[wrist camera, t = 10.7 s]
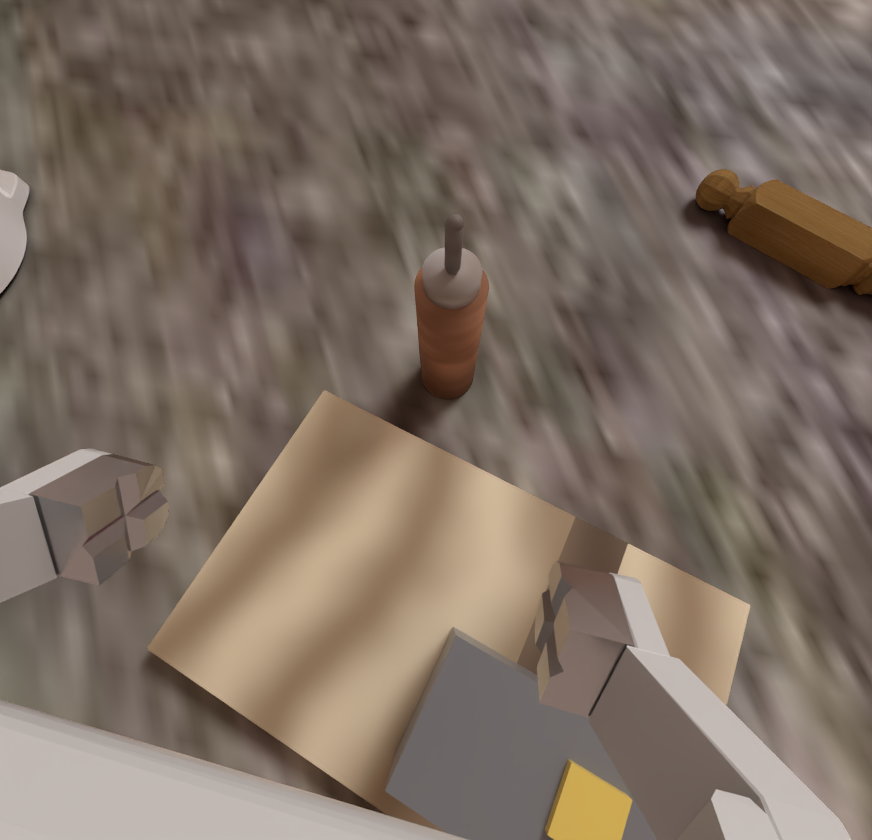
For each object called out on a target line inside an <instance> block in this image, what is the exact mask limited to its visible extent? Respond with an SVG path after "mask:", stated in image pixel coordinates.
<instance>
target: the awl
mask: <svg viewBox="0 0 872 840" xmlns="http://www.w3.org/2000/svg"><path fill="white" fill-rule="evenodd" d="M463 229H464V222H463V219H462V217H461V216H459V215H458V214H452V215H450V216H449V217H448V218H447V219H446V223H445V247H444V248H441V249H438V250H436V251H434V252H433V253H431V254H430V255H429V256H428V257H427V258H426V260H425V262H424V264H423V267H422V268H421V269H420V271H419V272H418V274H417V276H416V279H415V285H414V288H415V301H416V313H417V326H418V339H419V351H420V364H421V377H422V382H423V385H424V387H425V388H426V390H427V391H428V392H429V393H431V394H432V395H434V396H435V397H438V398H441V399H453V398H457V397H459V396H461V395H463V394H464V393H466V392H467V391H468V389H469V388H470V386H471V384H472V381H473V376H474V370H475V365H476V359H477V353H478V348H479V342H480V336H481V331H482V325H483V319H484V314H485V308H486V302H487V297H488V291H489V283H488V279H487V276H486V274H485V272H484V271H483V270H482V266H481V263H480V261H479V259H478V258H477V257H476V256H475V255H474V254H473V253H472V252H470V251H468V250H466V249H463V248H462V243H463Z"/></svg>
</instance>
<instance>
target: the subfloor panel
mask: <svg viewBox="0 0 872 840" xmlns="http://www.w3.org/2000/svg"><path fill="white" fill-rule="evenodd" d="M555 561H559V562H563V563H567V564H572V565H576V566H580V567H585V568H589V569H593V570H597V571H602V572H606V573H614V574H619V575H623V576H628V577H633V578H637V579H638V580H639V581H640V582H641V584H642V586H643V589H644V591H645V594H646V596H647V599H648V602H649V604H650V607H651V609H652V612H653V614H654V617H655V619H656V622H657V624H658V627H659V629H660V632H661V634H662V637H663V639H664V642H665V644H666V647H667V649H668V652H669V654H670V657H674V658H678V659H680V660H681V661H682V662H683V663H684V664H685V665H686V666H687V667H688V668H689V669H690V670H691V671H692V672H693V673H694V674H695V675H696V676H697V677H698V678H699V679H700V680H701V681H702V682H703V683H704V684H705V685H706V686H707V687H708V688H709V689H710V690H711V691H712V692H713V693H714V694H715V695H716V696H717V697H718V698H719V699H720V700H721V701H722V702H723V703H724V704H725V705H726V706H727V701H728V697H729V693H730V689H731V685H732V680H733V676H734V672H735V668H736V664H737V659H738V655H739V651H740V647H741V643H742V638H743V634H744V630H745V626H746V622H747V618H748V613H749V609H750V605H749V604H747V603H745V602H743V601H741V600H739V599H737V598H735V597H733V596H731V595H729V594H727V593H725V592H723V591H721V590H719V589H717V588H715V587H713V586H711V585H709V584H707V583H705V582H703V581H701V580H699V579H697V578H695V577H693V576H691V575H689V574H687V573H685V572H683V571H681V570H679V569H677V568H675V567H674V566H672V565H670V564H668V563H666V562H664V561H662V560H660V559H658V558H656V557H654V556H652V555H650V554H648V553H646V552H644V551H642V550H640V549H638V548H636V547H634V546H632V545H630V544H628V543H626V542H624V541H622V540H620V539H618V538H616V537H614V536H612V535H610V534H608V533H606V532H604V531H602V530H600V529H598V528H596V527H594V526H592V525H590V524H588V523H586V522H584V521H582V520H580V519H578V518H576V517H574V516H573V515H571V514H569V513H567V512H565V511H563V510H561V509H559V508H557V507H555V506H553V505H551V504H549V503H547V502H545V501H543V500H541V499H539V498H537V497H535V496H533V495H531V494H529V493H527V492H525V491H523V490H521V489H519V488H517V487H515V486H513V485H511V484H509V483H507V482H505V481H503V480H501V479H499V478H497V477H495V476H493V475H491V474H489V473H487V472H485V471H483V470H481V469H479V468H477V467H475V466H474V465H472V464H470V463H468V462H466V461H464V460H462V459H460V458H458V457H456V456H454V455H452V454H450V453H448V452H446V451H444V450H442V449H440V448H438V447H436V446H434V445H432V444H430V443H428V442H426V441H424V440H422V439H420V438H418V437H416V436H414V435H412V434H410V433H408V432H406V431H404V430H402V429H400V428H398V427H396V426H394V425H392V424H390V423H388V422H386V421H384V420H382V419H380V418H378V417H376V416H375V415H373V414H371V413H369V412H367V411H365V410H363V409H361V408H359V407H357V406H355V405H353V404H351V403H349V402H347V401H345V400H343V399H341V398H339V397H337V396H335V395H333V394H331V393H329V392H327V391H325V390H324V391H323V393H322V394H321V396H320V397H319V399H318V400H317V401H316V403H315V404H314V406H313V407H312V409H311V410H310V412H309V413H308V415H307V416H306V417H305V419H304V420H303V422H302V423H301V425H300V426H299V428H298V429H297V431H296V432H295V433H294V435H293V436H292V438H291V439H290V441H289V442H288V444H287V445H286V447H285V448H284V449H283V451H282V452H281V454H280V455H279V457H278V458H277V460H276V461H275V463H274V464H273V465H272V467H271V468H270V470H269V471H268V473H267V474H266V476H265V477H264V479H263V480H262V482H261V483H260V484H259V486H258V487H257V489H256V490H255V492H254V493H253V495H252V496H251V498H250V499H249V500H248V502H247V503H246V505H245V506H244V508H243V509H242V511H241V512H240V514H239V515H238V516H237V518H236V519H235V521H234V522H233V524H232V525H231V527H230V528H229V530H228V531H227V532H226V534H225V535H224V537H223V538H222V540H221V541H220V543H219V544H218V546H217V547H216V548H215V550H214V551H213V553H212V554H211V556H210V557H209V559H208V560H207V562H206V563H205V565H204V566H203V567H202V569H201V570H200V572H199V573H198V575H197V576H196V578H195V579H194V581H193V582H192V583H191V585H190V586H189V588H188V589H187V591H186V592H185V594H184V595H183V597H182V598H181V599H180V601H179V602H178V604H177V605H176V607H175V608H174V610H173V611H172V613H171V614H170V615H169V617H168V618H167V620H166V621H165V623H164V624H163V626H162V627H161V629H160V630H159V631H158V633H157V634H156V636H155V637H154V639H153V640H152V642H151V643H150V645H149V646H148V648H147V649H148V650H149V651H151V652H152V653H153V654H155V655H156V656H158V657H159V658H161V659H162V660H164V661H165V662H166V663H168V664H169V665H171V666H172V667H174V668H175V669H177V670H178V671H179V672H181V673H182V674H184V675H185V676H187V677H188V678H190V679H191V680H192V681H194V682H195V683H197V684H198V685H200V686H201V687H203V688H204V689H206V690H207V691H208V692H210V693H211V694H213V695H214V696H216V697H217V698H219V699H220V700H221V701H223V702H224V703H226V704H227V705H229V706H230V707H232V708H233V709H234V710H236V711H237V712H239V713H240V714H242V715H243V716H245V717H246V718H247V719H249V720H250V721H252V722H253V723H255V724H256V725H258V726H259V727H260V728H262V729H263V730H265V731H266V732H268V733H269V734H271V735H272V736H273V737H275V738H276V739H278V740H279V741H281V742H282V743H284V744H285V745H287V746H288V747H289V748H291V749H292V750H294V751H295V752H297V753H298V754H300V755H301V756H302V757H304V758H305V759H307V760H308V761H310V762H311V763H313V764H314V765H315V766H317V767H318V768H320V769H321V770H323V771H324V772H326V773H327V774H328V775H330V776H331V777H333V778H334V779H336V780H337V781H339V782H340V783H341V784H343V785H344V786H346V787H347V788H349V789H350V790H352V791H353V792H355V793H356V794H357V795H359V796H360V797H362V798H363V799H365V800H366V801H368V802H369V803H370V804H372V805H373V806H375V807H376V808H378V809H379V810H381V811H382V812H383V813H385V814H386V815H389V816H392V817H395V818H399V819H402V820H405V821H409V822H412V823H415V824H419V825H422V826H425V827H429V828H432V829H435V830H439V831H442V832H444V831H443V830H442V829H440V828H439V827H437V826H436V825H434V824H433V823H431V822H430V821H428V820H427V819H425V818H424V817H422V816H421V815H419V814H418V813H416V812H415V811H413V810H412V809H410V808H409V807H408V806H406V805H405V804H403V803H402V802H400V801H399V800H397V799H396V798H394V797H393V796H391V795H390V794H388V793H387V792H385V789H386V785H387V781H388V777H389V773H390V769H391V765H392V761H393V757H394V754H395V752H396V750H397V747H398V745H399V743H400V741H401V739H402V737H403V734H404V732H405V730H406V728H407V726H408V724H409V721H410V719H411V717H412V715H413V713H414V711H415V708H416V706H417V704H418V702H419V700H420V697H421V695H422V693H423V691H424V689H425V687H426V684H427V682H428V680H429V678H430V676H431V674H432V671H433V669H434V667H435V665H436V663H437V661H438V658H439V656H440V654H441V652H442V650H443V648H444V645H445V643H446V641H447V639H448V637H449V634H450V632H451V630H452V628H453V627H455V628H457V629H458V630H460V631H462V632H464V633H465V634H467V635H469V636H470V637H472V638H474V639H476V640H477V641H479V642H481V643H482V644H484V645H486V646H488V647H489V648H491V649H493V650H495V651H496V652H498V653H500V654H501V655H503V656H505V657H507V658H508V659H510V660H512V661H513V662H515V663H517V664H519V665H520V666H522V667H524V668H526V669H527V670H529V671H531V672H532V673H534V674H536V675H537V665H538V662H539V660H540V657H541V655H542V653H541V652H540V650H539V649H538V647H537V646H536V645H535V619H536V614H537V608H538V604H539V601H540V598H541V595H542V593H543V592H545V591H547V590H548V589H550V588H549V579H548V575H549V573H550V570H551V568H552V566H553V564H554V563H555ZM445 833H446V832H445Z"/></svg>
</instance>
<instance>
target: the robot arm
mask: <svg viewBox="0 0 872 840" xmlns="http://www.w3.org/2000/svg"><path fill="white" fill-rule="evenodd" d="M28 195H29V186H28V185H27V184H26V183H25V182H24V181H23V180H21V179H20V178H19V177H18V176H17V175H15V174H13V173H11V172H7V171H3V170H0V293H1V292H2V291H3V290H4V289H5V288H6V286H7V285H8V284H9V283H10V281H11V280H12V278H13V277H14V275H15V274H16V272H17V270H18V268H19V266H20V264H21V262H22V259H23V257H24V253H25V249H26V242H27V234H26V228H25V224H24V220H23V210H24V207H25V204H26V201H27V199H28ZM164 485H165V479H164V474H163V470H162V469H161V468H159V467H158V466H156V465H153V464H149V463H145V462H142V461H138V460H134V459H130V458H126V457H123V456H119V455H115V454H110V453H106V452H102V451H98V450H94V449H80V450H78V451H76V452H74V453H72V454H70V455H68V456H66V457H63V458H61V459H59V460H57V461H55V462H53V463H51V464H49V465H47V466H45V467H43V468H40V469H38V470H36V471H34V472H32V473H30V474H28V475H26V476H24V477H22V478H19V479H17V480H15V481H13V482H11V483H9V484H7V485H5V486H3V487H1V488H0V603H1V602H3V601H5V600H8V599H10V598H12V597H15V596H17V595H19V594H21V593H24V592H26V591H28V590H30V589H33V588H35V587H37V586H40V585H42V584H44V583H46V582H49V581H51V580H53V579H56V578H57V576H61V577H66V578H70V579H74V580H78V581H83V582H87V583H91V584H96V585H100V584H102V583H103V582H104V581H105V580H106V579H108V578H109V577H110V576H111V575H112V574H114V573H115V572H116V571H117V570H118V569H120V568H121V567H122V566H123V565H124V564H126V563H127V562H128V561H129V559H130V555H131V551H133V550H136V549H138V548H141V547H144V546H147V545H148V544H149V543H151V542H152V541H153V540H154V539H155V538H156V537H157V536H159V534H160V532H161V531H162V529H163V527H164V526H165V524H166V522H167V518H168V513H169V508H168V501H167V500H166V498H165V497H164V496H163V494H162V493H161V492H160V490H161V489H162V487H163V486H164ZM56 575H57V576H56ZM548 579H549V588H550V589H548V590H547V591H545V592H543V593H542V595H541V598H540V601H539V604H538V608H537V614H536V619H535V645H536V646H537V647H538V649H539V650H540V652H541V653H542V655H541V657H540V660H539V662H538V665H537V676H538V690H539V703H541V704H544V705H547V706H551V707H554V708H558V709H561V710H564V711H568V712H571V713H574V714H578V715H581V716H584V717H588V718H589V720H588V721H589V722H590V724H591V726H592V728H593V729H594V731H595V733H596V734H597V736H598V738H599V740H600V741H601V743H602V745H603V747H604V748H605V750H606V752H607V753H608V755H609V757H610V759H611V760H612V762H613V764H614V765H615V767H616V769H617V771H618V772H619V774H620V776H621V778H622V779H623V781H624V783H625V784H626V786H627V788H628V790H629V791H630V793H631V795H632V796H633V798H634V800H635V802H636V803H637V805H638V807H639V809H640V810H641V812H642V814H643V815H644V817H645V819H646V821H647V822H648V824H649V826H650V827H651V829H652V831H653V833H654V834H655V836H656V838H657V840H851V838H850V836H849V834H848V833H847V831H846V829H845V827H844V826H843V824H842V822H841V821H840V820H839V819H838V818H837V817H836V816H835V815H834V814H833V813H832V812H831V811H830V810H829V809H828V808H827V807H826V806H825V805H824V804H823V803H822V802H821V801H820V800H819V799H818V798H817V797H816V796H815V795H814V793H813V792H812V791H811V790H810V789H809V788H808V787H807V786H806V785H805V784H804V783H803V782H802V781H801V780H800V779H799V778H798V777H797V776H796V775H795V774H794V773H793V772H792V771H791V770H790V769H789V768H788V767H787V766H786V765H785V764H784V763H783V762H782V761H781V760H780V759H779V758H778V757H777V756H776V755H775V754H774V753H773V752H772V751H771V750H770V749H769V748H768V747H767V746H766V745H765V744H764V743H763V742H762V741H761V740H760V739H759V738H758V737H757V736H756V735H755V734H754V733H753V732H752V731H751V730H750V729H749V728H748V727H747V726H746V725H745V724H744V723H743V722H742V721H741V720H740V719H739V718H738V717H737V716H736V715H735V714H734V713H733V712H732V711H731V710H730V709H729V708H728V707H727V706H726V705H725V704H724V703H723V702H722V701H721V700H720V699H719V698H718V697H717V696H716V695H715V694H714V693H713V692H712V691H711V690H710V689H709V688H708V687H707V686H706V685H705V684H704V683H703V682H702V681H701V680H700V679H699V678H698V677H697V676H696V675H695V674H694V673H693V672H692V671H691V670H690V669H689V668H688V667H687V666H686V665H685V664H684V663H683V662H682V661H681V660H680V659H678V658H674V657H670V654H669V652H668V649H667V647H666V644H665V642H664V639H663V637H662V634H661V632H660V629H659V627H658V624H657V622H656V619H655V617H654V614H653V612H652V609H651V607H650V604H649V602H648V599H647V596H646V594H645V591H644V589H643V586H642V584H641V582H640V581H639V580H638V579H637V578H633V577H628V576H623V575H619V574H614V573H606V572H602V571H597V570H593V569H589V568H585V567H580V566H576V565H572V564H567V563H563V562H559V561H555V563H554V564H553V566H552V568H551V570H550V573H549V575H548ZM0 840H469V839H466V838H462V837H459V836H455V835H452V834H449V833H445V832H442V831H439V830H435V829H432V828H429V827H425V826H422V825H419V824H415V823H412V822H409V821H405V820H402V819H399V818H395V817H392V816H389V815H385V814H382V813H379V812H375V811H372V810H368V809H365V808H362V807H358V806H355V805H352V804H348V803H345V802H342V801H338V800H335V799H332V798H328V797H325V796H322V795H318V794H315V793H312V792H308V791H305V790H302V789H298V788H295V787H292V786H288V785H285V784H281V783H278V782H275V781H271V780H268V779H265V778H261V777H258V776H255V775H251V774H248V773H245V772H241V771H238V770H235V769H231V768H228V767H225V766H221V765H218V764H215V763H211V762H208V761H205V760H201V759H198V758H194V757H191V756H188V755H184V754H181V753H178V752H174V751H171V750H168V749H164V748H161V747H158V746H154V745H151V744H148V743H144V742H141V741H138V740H134V739H131V738H128V737H124V736H121V735H117V734H114V733H111V732H107V731H104V730H101V729H97V728H94V727H91V726H87V725H84V724H80V723H77V722H74V721H70V720H67V719H64V718H60V717H57V716H54V715H50V714H47V713H43V712H40V711H37V710H33V709H30V708H27V707H23V706H20V705H17V704H13V703H10V702H7V701H3V700H0Z"/></svg>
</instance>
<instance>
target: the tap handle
mask: <svg viewBox="0 0 872 840" xmlns="http://www.w3.org/2000/svg"><path fill="white" fill-rule="evenodd" d="M696 201H697V203H698V205H699V206H700V207H701V208H702V209H704V210H707V211H716V210H719V209H722V208H723V209H724V211H725V214H726V219H730V218H731V220H730V222H729V224H728V227H727V232H728V234H730V235H732V236H734V237H735V238H737V239H739V240H741V241H743V242H744V243H746V244H748V245H750V246H752V247H753V248H755V249H757V250H759V251H761V252H762V253H764V254H766V255H768V256H770V257H772V258H773V259H775V260H777V261H779V262H781V263H782V264H784V265H786V266H788V267H790V268H791V269H793V270H795V271H797V272H799V273H801V274H802V275H804V276H806V277H808V278H810V279H811V280H813V281H815V282H817V283H819V284H820V285H822V286H824V287H826V288H828V289H832V288H835V287H838V286H840V285H842V286H847V285H850V284H852V285H853V289H854V290H855V292H856V293H857V294H858V295H862V294H871V295H872V228H871V227H869V226H867V225H865V224H863V223H861V222H859V221H857V220H855V219H853V218H851V217H849V216H847V215H845V214H843V213H841V212H839V211H837V210H835V209H833V208H831V207H829V206H827V205H826V204H824V203H822V202H820V201H818V200H816V199H814V198H812V197H810V196H808V195H806V194H804V193H802V192H800V191H798V190H796V189H794V188H792V187H790V186H788V185H786V184H784V183H782V182H780V181H778V180H771V181H768V182H765V183H763V184H762V185H760V186H759V187H758V188H757V189H756V190H755V189H754V186H749V187H746V188H739V180H738V177H737V175H736V174H735V173H734V172H732V171H730V170H726V169H721V170H717V171H714V172H712V173H711V174H709V175H708V176H707V177H706V178H705V179H704V180H703V181H702V182H701V184H700V185H699V187H698V189H697V192H696Z"/></svg>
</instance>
